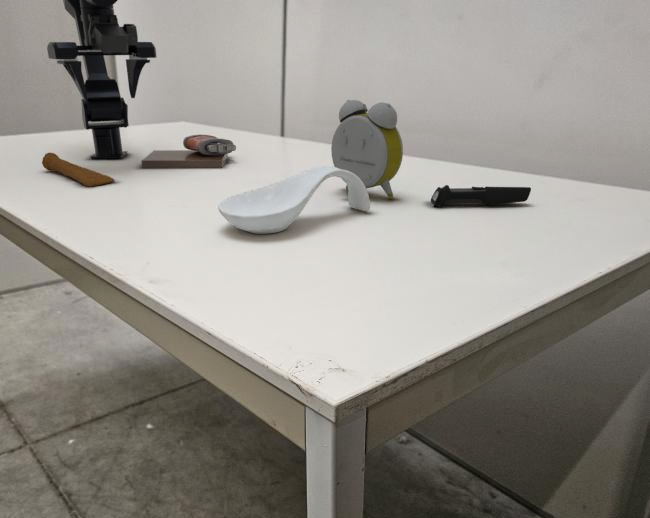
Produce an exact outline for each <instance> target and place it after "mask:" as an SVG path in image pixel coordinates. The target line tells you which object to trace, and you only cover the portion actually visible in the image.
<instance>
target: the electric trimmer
mask: <svg viewBox="0 0 650 518" xmlns="http://www.w3.org/2000/svg"><path fill="white" fill-rule="evenodd" d="M531 191H532V187H530V186H527V187H526V186H485V187H484V186H471V187H465V188H463V187H462V188H461V187H457V188H456V187H455V188H454V187H453V188H452V187H451V188H450V186H449V185H448V184H445V185H444V186H442V187H440V186H438V187H437V188H436V189H435V191H434V192H433V194H432V195H431V199H430V204H431V206H432V207H434V206H436V207H437V208H440V207H442V206H443V205H462V204H465V205H466V204H467V205H468V204H483V205H486V206H495V205H503V204H505V205H506V204H513V203H524V202H526V201H527V200H529V197H530V194H531Z"/></svg>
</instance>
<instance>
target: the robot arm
mask: <svg viewBox="0 0 650 518" xmlns="http://www.w3.org/2000/svg"><path fill="white" fill-rule="evenodd" d="M117 2H118V0H62V3H63V7H64V10H65V11H66V12H67V13H68V14H69V15H70V16H71V17H72V18H73V19H74V23H75V26H76V31H77V37H78V41H79V45H77V43H76V42H75V41H49V42H48V44H47V45H46V50H47V57H48V59H49V60H50V59H51V60H56V64H57V65H63V67H64V69H65V70H66V71H67V73H68V74H69V76H70V77H71V79H72V81H73V83H74V84H75V87H76V88H77V90H78V91H79V94H80V96H81V117H82V123H83V124H82V125H83V128H84V129H85V130H88V131H89V130H91V134H92V140H93V147H94V153H93V154H92V155H91V156H90V159H93V160H94V159H95V160H97V159H99V160H100V159H101V160H103V159H107V160H108V159H110V160H111V159H122V158H123V157H125V156H126V155H128V150H127V151H125V150H124V151H123V145H122V138H121V130H120V129H121V128H125V129H127V128H129V127H130V125H129V110H128V109H129V107H128V104H127V103H126V101H125V99H124V97H121V92H120V88H119V85H118V82H117V81H116V79H115V78H111V77H110V76H109V74H108V69H107V65H106V60H105V56H128V59H127V58H126V59H125V65H126V74H127V82H128V91H129V95H130V98H131V99H136V94H137V90H138V84H139V79H140V76H141V73H142V71H143V68H144V67H145V65H146V64H150V63H151V59H157V49H156V46H155V44H154V43H153V42H152V41H139V37H138V30H137V29H138V28H137V26H136V25H135V23H123V25H122V26H120V24H119V21H118V17H117V14H115V8H114V7H115V6H114V5H115V4H116V3H117ZM78 57H82V61H83V65H84V70H85V74H86V79H85V80H84V75H83V71H82V70H83V69H82V61H81V60H78ZM89 122H90V123H89Z"/></svg>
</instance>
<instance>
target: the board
mask: <svg viewBox="0 0 650 518" xmlns="http://www.w3.org/2000/svg"><path fill="white" fill-rule="evenodd" d="M228 158H229V153H228V154H224V155H206V154H202V153H200V152H199V151H194V150H189V149H185V150H183V149H181V150H180V149H179V150H176V149H175V150H174V149H173V150H165V149H164V150H159V149H158V150H157V149H156V150H155V149H154V150H152V151H151V152H149V154H148V155H147V156H145V157H144V158H143V159H141V166H142V169H222V168H223V167H224V165H225V163H226V162H227V160H228Z"/></svg>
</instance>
